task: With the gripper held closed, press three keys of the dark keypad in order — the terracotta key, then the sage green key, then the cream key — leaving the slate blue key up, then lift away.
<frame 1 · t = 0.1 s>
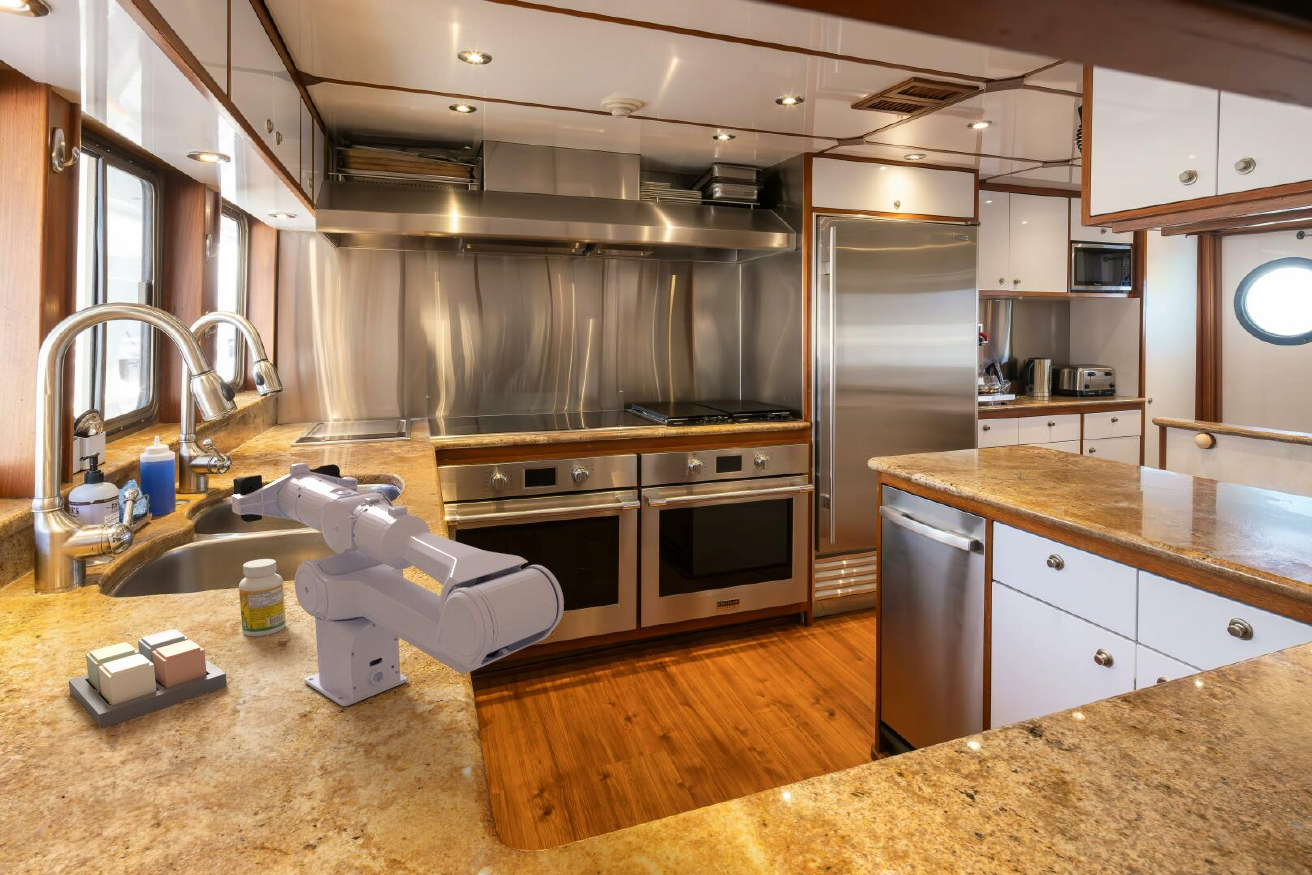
hand: (268, 481, 94), 22 cm above the countertop, tool horizontal, fingers open, 7 cm apart
supplement bottle: (264, 631, 101), on the countertop
key terracotta: (179, 662, 83), point 3 cm above the countertop, slide at 0.0 cm
key cream: (127, 678, 79), point 3 cm above the countertop, slide at 0.0 cm
key sage: (113, 665, 82), point 3 cm above the countertop, slide at 0.0 cm
keypad board: (149, 689, 83), on the countertop
key slate: (164, 650, 86), point 3 cm above the countertop, slide at 0.0 cm
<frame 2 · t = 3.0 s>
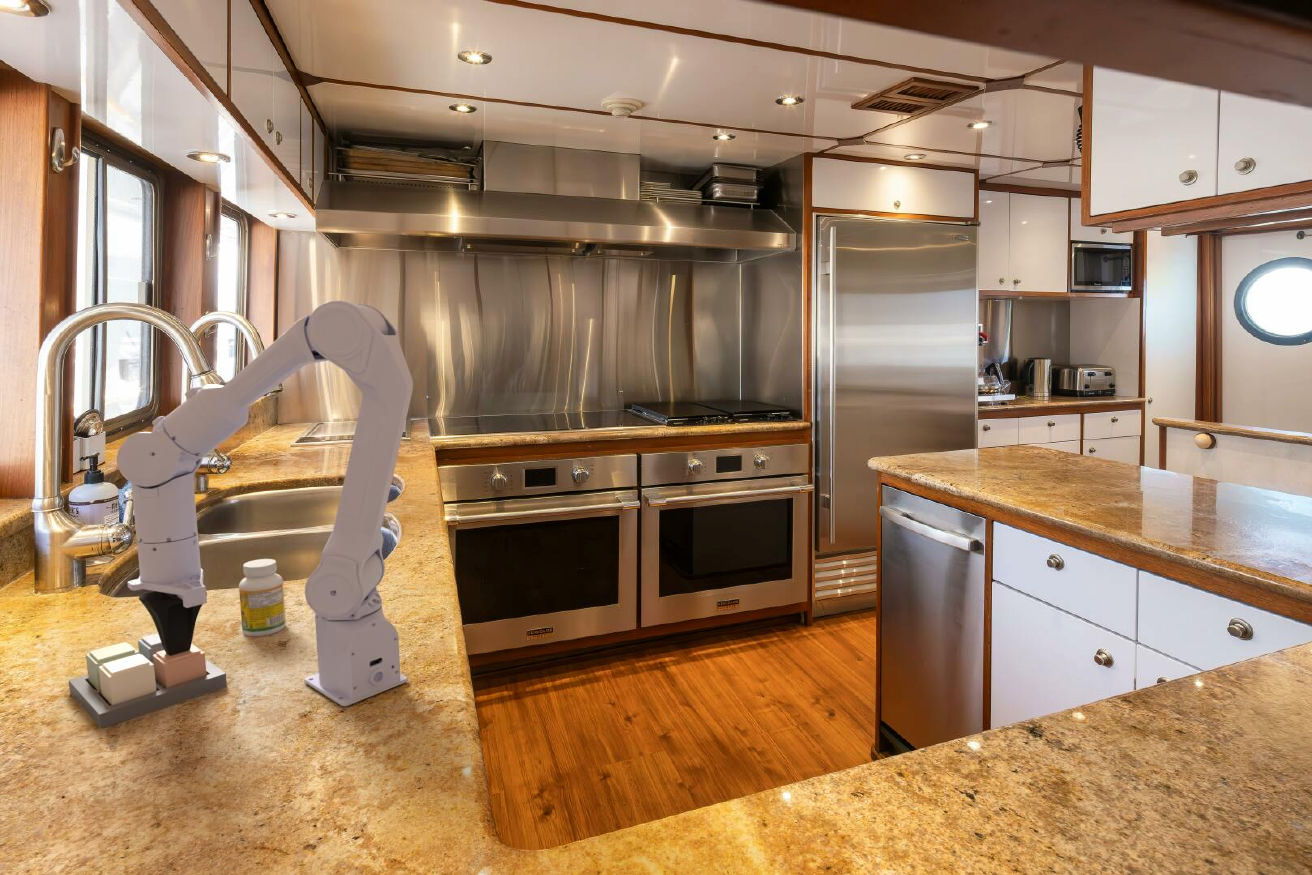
hand: (178, 651, 83), 4 cm above the countertop, tool pointing down, fingers closed, pressing on key terracotta
key terracotta: (179, 665, 83), point 3 cm above the countertop, slide at 0.4 cm, touching gripper
everything else where it was.
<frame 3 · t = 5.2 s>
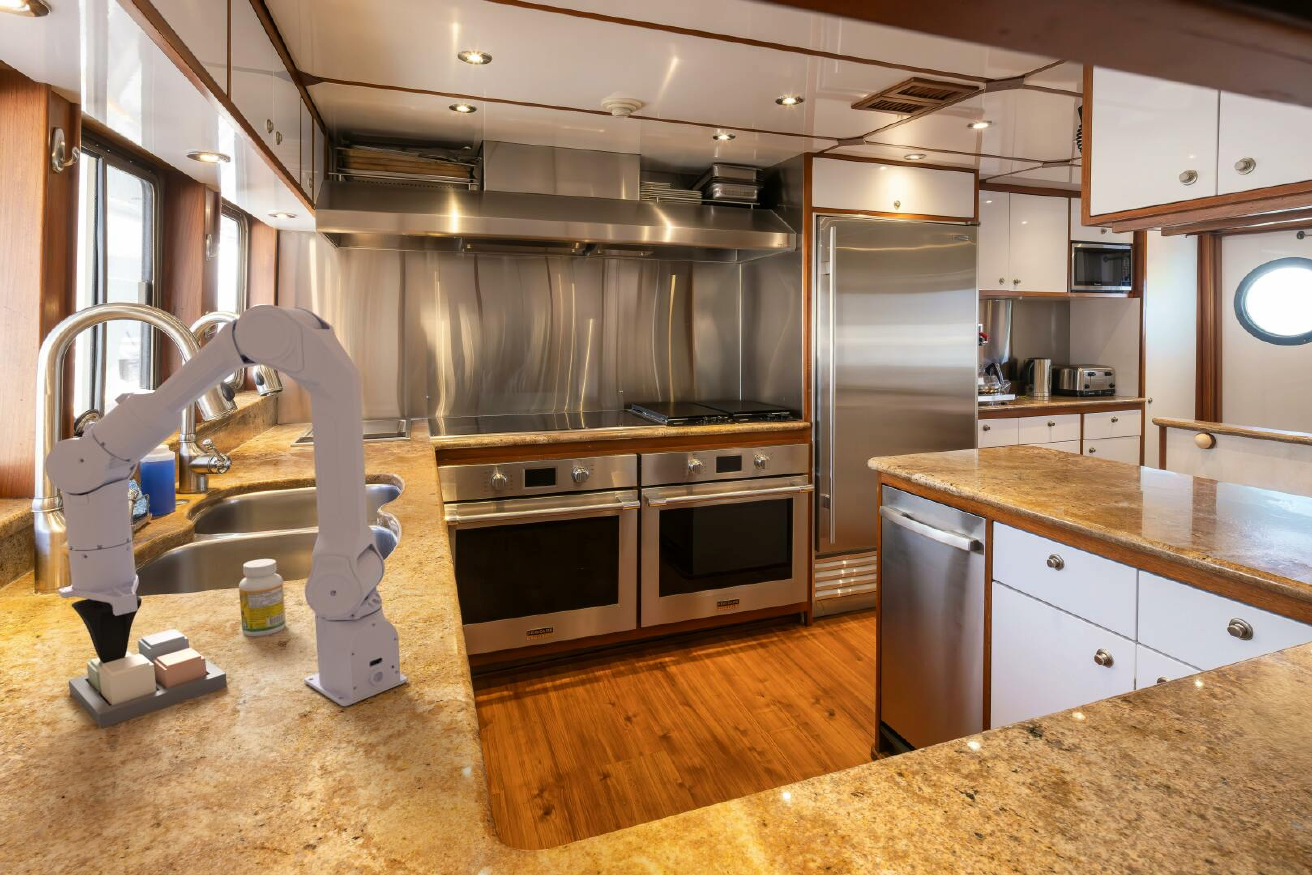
hand: (112, 659, 82), 4 cm above the countertop, tool pointing down, fingers closed, pressing on key sage
key terracotta: (180, 670, 83), point 2 cm above the countertop, slide at 1.0 cm
key sage: (114, 673, 83), point 2 cm above the countertop, slide at 1.0 cm, touching gripper
everything else where it was.
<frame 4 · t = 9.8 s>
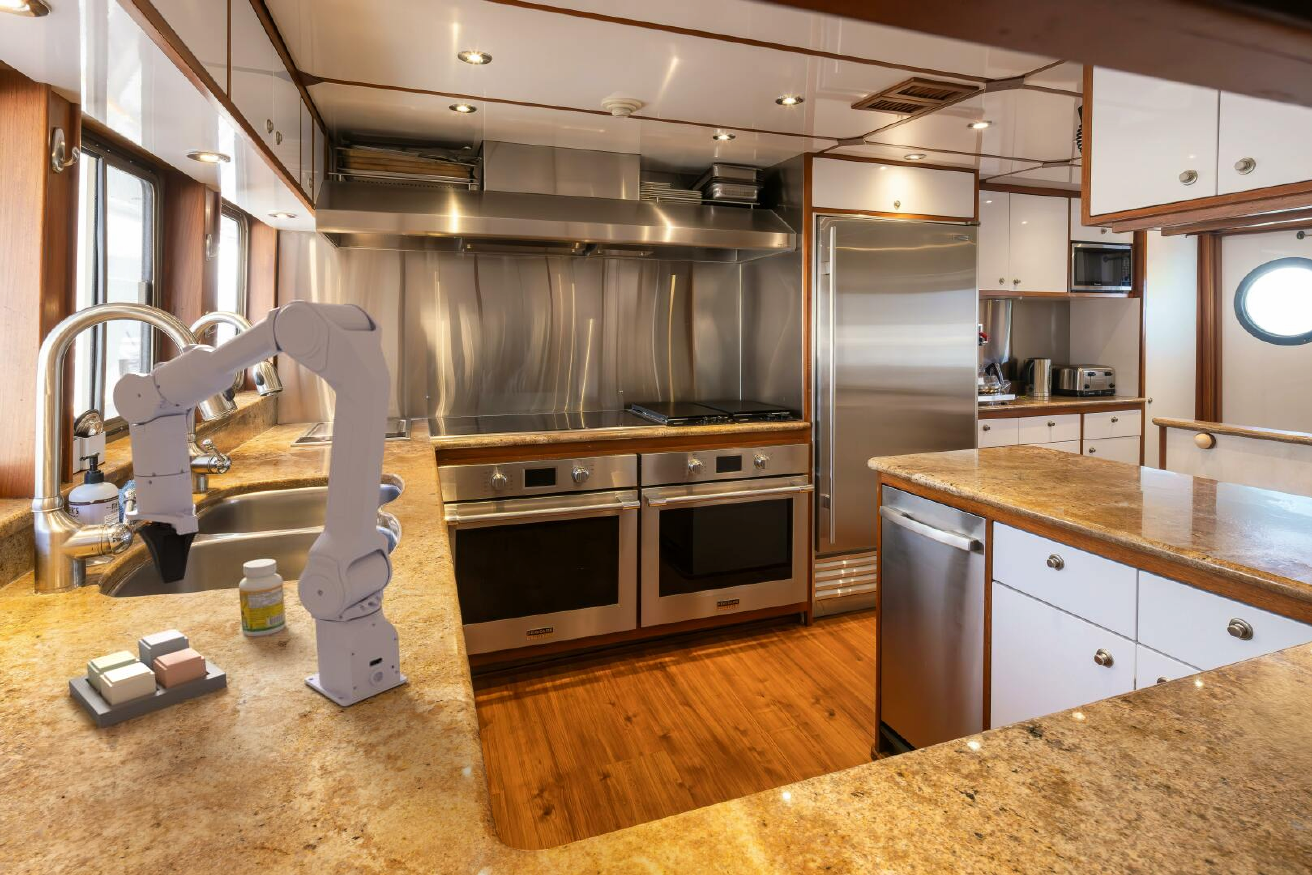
hand: (172, 580, 89), 10 cm above the countertop, tool pointing down, fingers closed
key cream: (128, 686, 79), point 2 cm above the countertop, slide at 1.0 cm
key sage: (114, 673, 83), point 2 cm above the countertop, slide at 1.0 cm
everything else where it was.
at the end: key terracotta slide at 1.0 cm; key sage slide at 1.0 cm; key cream slide at 1.0 cm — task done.
